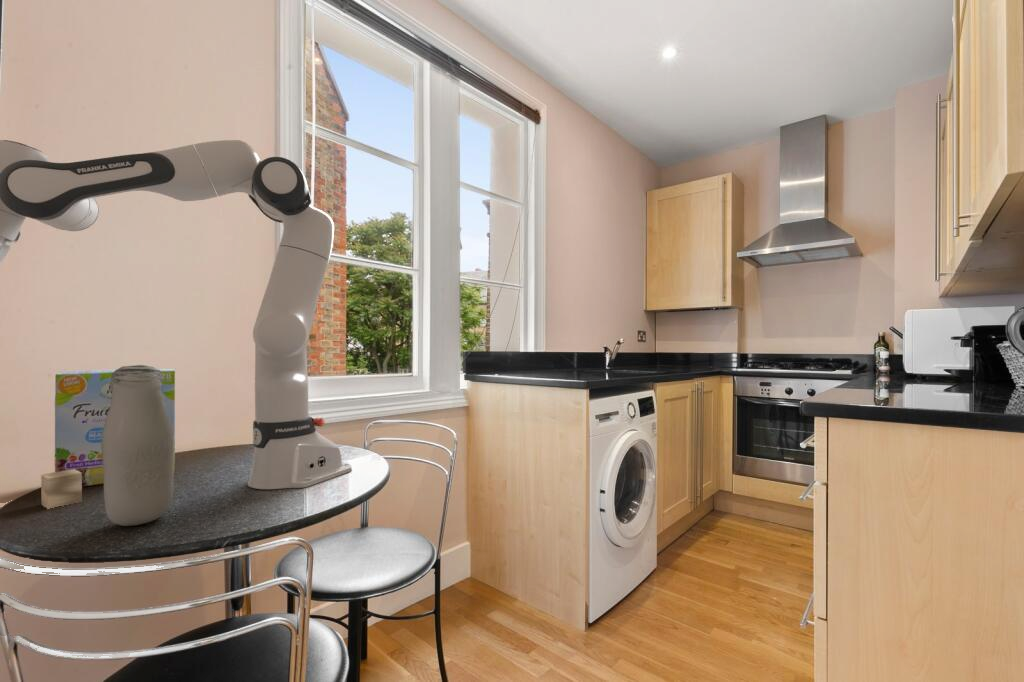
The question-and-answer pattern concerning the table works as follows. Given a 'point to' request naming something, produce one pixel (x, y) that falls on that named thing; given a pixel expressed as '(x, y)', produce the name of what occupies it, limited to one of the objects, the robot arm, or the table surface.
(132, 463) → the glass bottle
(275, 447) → the robot arm
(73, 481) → the maple block
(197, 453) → the table surface
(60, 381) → the snack box
